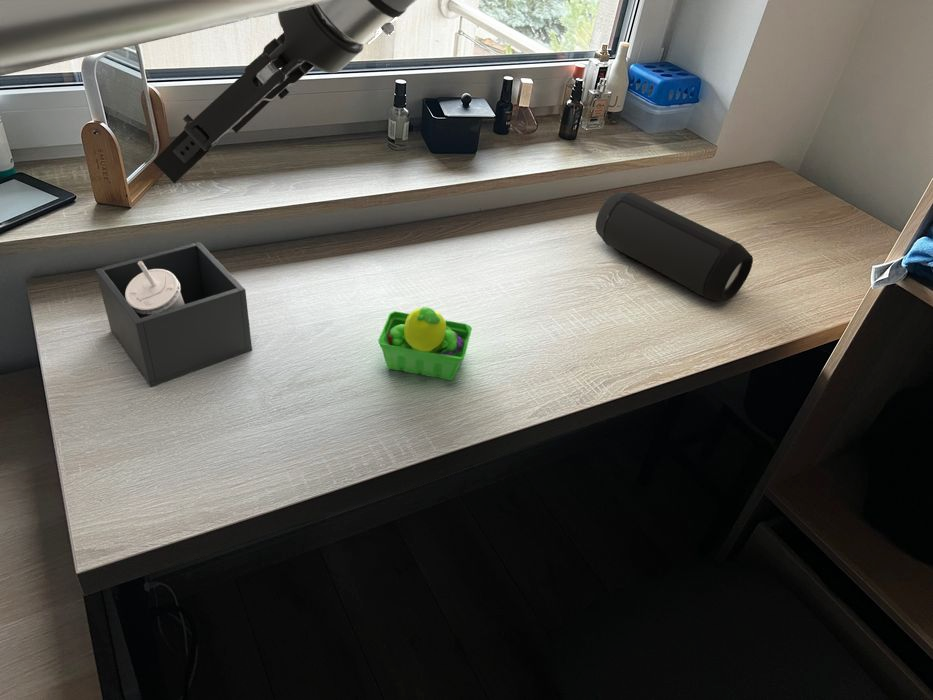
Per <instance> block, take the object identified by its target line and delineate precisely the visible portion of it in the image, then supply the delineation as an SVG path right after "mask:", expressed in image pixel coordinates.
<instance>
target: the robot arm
mask: <svg viewBox="0 0 933 700" xmlns="http://www.w3.org/2000/svg"><path fill="white" fill-rule="evenodd" d="M415 2H417V0H0V77H1V76H6V75H10V74H14V73H19V72H23V71H27V70H33V69H36V68H42V67H45V66H50V65H55V64H58V63H62V62H67V61H71V60H76V59H81V58H85V57H89V56H93V55H98V54H103V53H107V52H111V51H116V50H120V49H124V48H129V47H132V46H133V47H134V46H138V45H141V44H147V43H150V42H151V43H152V42H154V41H160V40H163V39H169V38H172V37H178V36H181V35H187V34H189V33H194V32H198V31H203V30H207V29H212V28H216V27H221V26H226V25H229V24H235V23H238V22H242V21H243V22H244V21H247V20H252V19H255V18H260V17H265V16H269V15H273V14H277V17H278V22H279V25H280V27H281V28H282V33H281V34H280V35H279V36H278V37H277V38H276V37H274V38H273V39H271V40H270V41H269V42H268V43H267V44H266V45H264V48H263V49H262V53H260V54H259V55H258V56H256V58H255V59H254V60H252V61H251V62H250V63H249V64H248V65H247V66H246V67H245V68H244V70H243V73H242V74H241V76H239V77H238V79H236V80H235V81H234V82H233V83H232V84H230V85H229V87H227V88H226V89H225V90H224V91H222V93H220V95H218V97H216V98H215V99H214V100H213V101H212V102H210V104H209V105H208V106H207V107H206V108H205V109H203V110H202V111H201V112H200V113H199V114H198V115H197V116H195V117H194V118H193V117H191V116H190V115H189V114H186V115H185V116H183V118H182V120H183V121H184V123H186V124H185V126H184V127H183V130H182V131H181V133H179V134H178V136H176V138H174V139H173V141H171V142H170V143H169V144H168V145H167V147H166V148H164V149H163V150H162V151H161V153H159V154H158V156H157V157H155V158H154V159H153V161H152V163H153V164H154V165H155V166H156V167H157V168H158V169H159V170H160V171H162V172H163V175H165V176H166V177H167V178H168V179H169V180H170V182H172V183H173V184H176V183H177V182H178V181H180V179H182V178H183V177H184V176H185V175H186V174H187V172H189V171H190V170H191V169H192V168H193V167H195V165H197V164H198V163H199V162H200V161H201V160H202V159H203V158H204V157H205V156H206V155H208V153H209V152H210V151H211V150H212V149H213V148H214V147H216V146H217V144H218V143H219V140H220V139H221V138H222V137H223V136H224V135H226V134H227V133H228V132H229V131H230V130H233V132H234V133H235V134H237V133H238V132H240V131H241V129H243V128H244V127H245V126H246V125H247V124H249V122H250V121H251V120H252V119H253V118H255V117H256V115H257V114H259V113H260V112H261V111H262V110H263V109H264V108H265V107H267V105H268V104H269V103H270V102H272V101H273V100H274V99H275V98H276V97H277V96H278V97H279V99H280V100H283V99H284V98H285V97H286V96H287V95H288V94H290V91H289V90H288V89H287V88H288V87H289V86H294V85H295V84H296V83H297V82H298V81H300V79H302V78H303V77H305V76H306V75H308V73H309V72H310V71H312V70H313V69H314V68H316V69H318V70H319V71H321V72H325V73H329V74H335V73H338V72H341V71H342V70H343V69H344V68H345V67H346V66H347V65H348V64H349V63H350V62H352V61H353V60H354V59H355V58H356V57H357V56H358V55H360V54H361V52H362V51H363V49H364V45H369V44H370V43H372V42H373V41H374V40H375V39H376V38H377V37H378V36H379V35H381V33H382V32H383V33H384V34H385V35H387V36H391V35H392V34H393V33H394V32H395V25H394V24H392V22H395V21H396V20H397V19H398V18H399V17H401V16H402V15H403V14H404V13H406V11H407V10H408V9H409V7H411V6H412V5H413V4H414V3H415Z"/></svg>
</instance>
